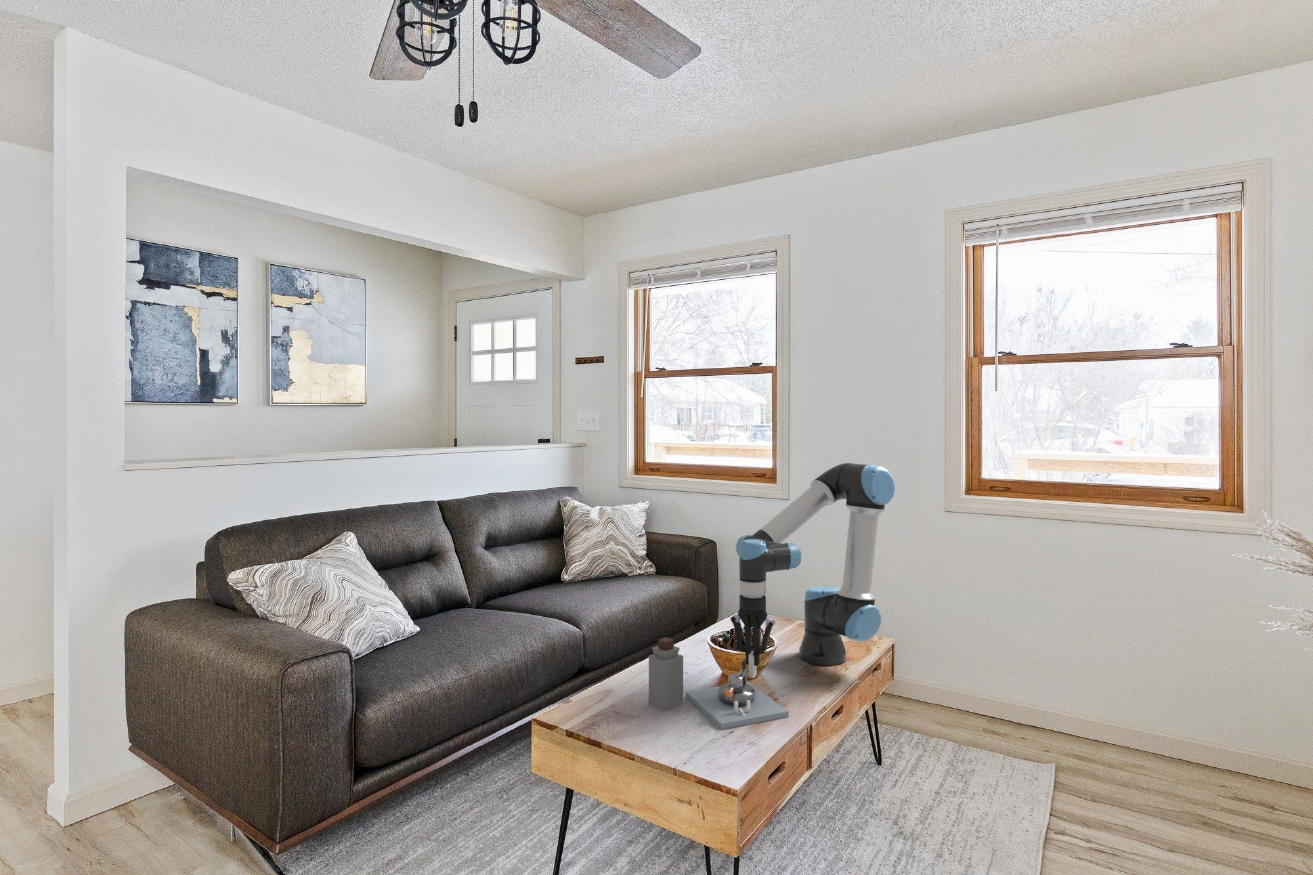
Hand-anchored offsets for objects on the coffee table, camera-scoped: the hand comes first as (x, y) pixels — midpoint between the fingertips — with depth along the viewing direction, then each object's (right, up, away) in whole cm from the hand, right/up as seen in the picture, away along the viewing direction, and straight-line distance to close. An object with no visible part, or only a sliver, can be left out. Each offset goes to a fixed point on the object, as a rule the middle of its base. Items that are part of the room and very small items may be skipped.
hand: (752, 675), depth 201 cm
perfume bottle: (-25, -6, -6) cm, 26 cm away
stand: (-6, -6, -8) cm, 11 cm away
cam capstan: (-5, -3, -7) cm, 9 cm away
